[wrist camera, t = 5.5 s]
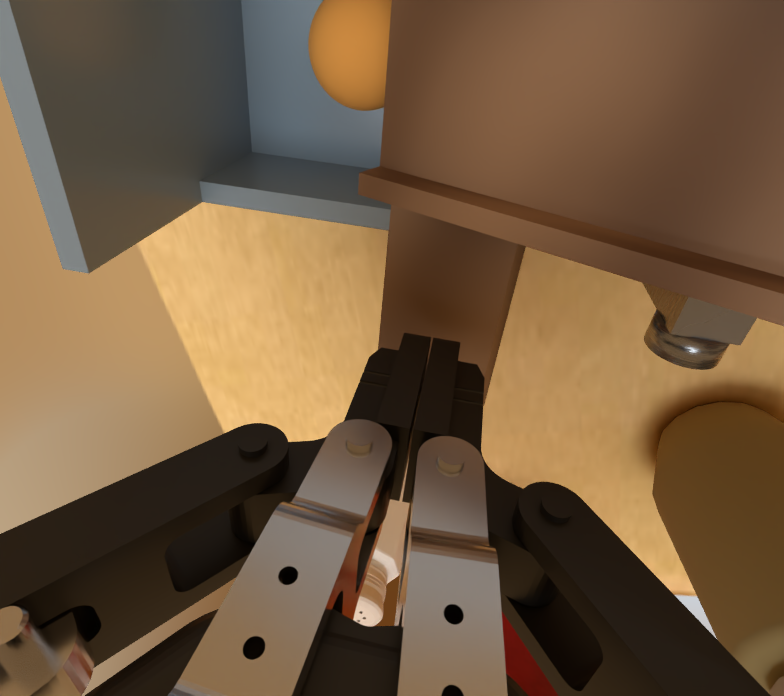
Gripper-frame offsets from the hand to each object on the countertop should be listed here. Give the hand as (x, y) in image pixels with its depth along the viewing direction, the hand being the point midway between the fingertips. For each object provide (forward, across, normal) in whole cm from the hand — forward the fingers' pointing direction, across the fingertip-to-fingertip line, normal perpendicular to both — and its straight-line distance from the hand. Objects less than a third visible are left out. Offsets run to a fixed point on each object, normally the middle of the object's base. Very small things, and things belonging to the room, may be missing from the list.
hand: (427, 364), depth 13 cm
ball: (+10, +4, -6) cm, 12 cm away
